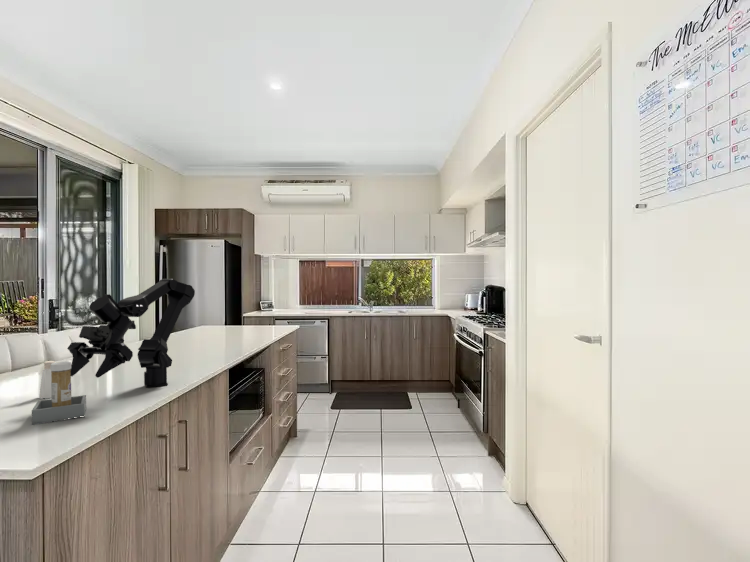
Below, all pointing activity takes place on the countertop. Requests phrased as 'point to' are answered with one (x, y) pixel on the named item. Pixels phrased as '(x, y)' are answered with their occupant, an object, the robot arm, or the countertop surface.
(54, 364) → the sprinkles bottle
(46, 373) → the pepper shaker
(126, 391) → the countertop surface
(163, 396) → the countertop surface
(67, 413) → the tray
